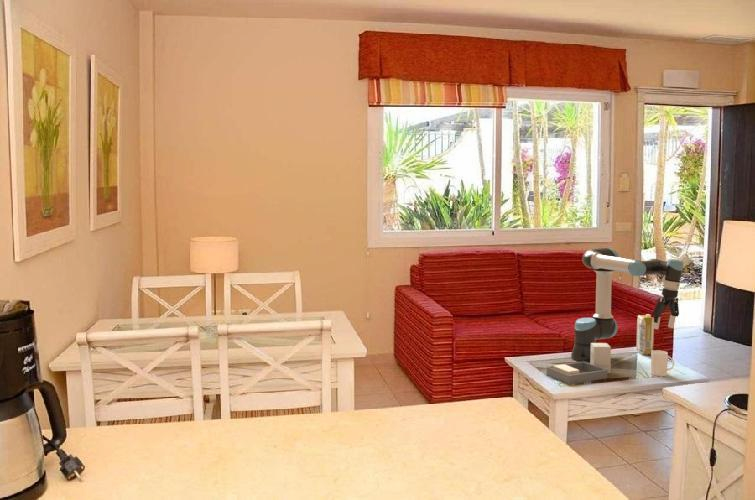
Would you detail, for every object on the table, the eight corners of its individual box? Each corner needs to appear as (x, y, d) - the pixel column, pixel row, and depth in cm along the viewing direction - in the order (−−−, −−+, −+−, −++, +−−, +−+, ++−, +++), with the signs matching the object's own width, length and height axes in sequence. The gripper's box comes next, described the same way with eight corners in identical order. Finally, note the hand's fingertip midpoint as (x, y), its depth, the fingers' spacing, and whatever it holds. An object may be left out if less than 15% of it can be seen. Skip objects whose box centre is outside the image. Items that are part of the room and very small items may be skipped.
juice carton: (654, 355, 377) (655, 315, 374) (641, 355, 377) (642, 315, 375) (647, 351, 386) (649, 312, 384) (634, 351, 386) (636, 312, 384)
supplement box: (606, 369, 349) (607, 342, 348) (610, 373, 340) (611, 346, 339) (589, 368, 350) (590, 342, 348) (593, 373, 341) (594, 346, 340)
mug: (676, 375, 337) (677, 353, 336) (669, 378, 331) (670, 356, 330) (654, 370, 346) (655, 349, 345) (647, 373, 340) (648, 352, 339)
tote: (546, 375, 337) (546, 366, 337) (583, 370, 347) (583, 361, 346) (568, 385, 321) (569, 375, 320) (607, 379, 330) (607, 370, 330)
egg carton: (553, 375, 335) (553, 365, 335) (563, 374, 338) (564, 364, 337) (568, 382, 324) (568, 371, 324) (579, 380, 327) (579, 370, 326)
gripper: (663, 290, 318) (655, 331, 321) (691, 290, 332) (683, 329, 335) (649, 287, 325) (642, 327, 328) (677, 287, 338) (670, 325, 341)
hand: (663, 328), depth 331 cm, fingers open, 13 cm apart
